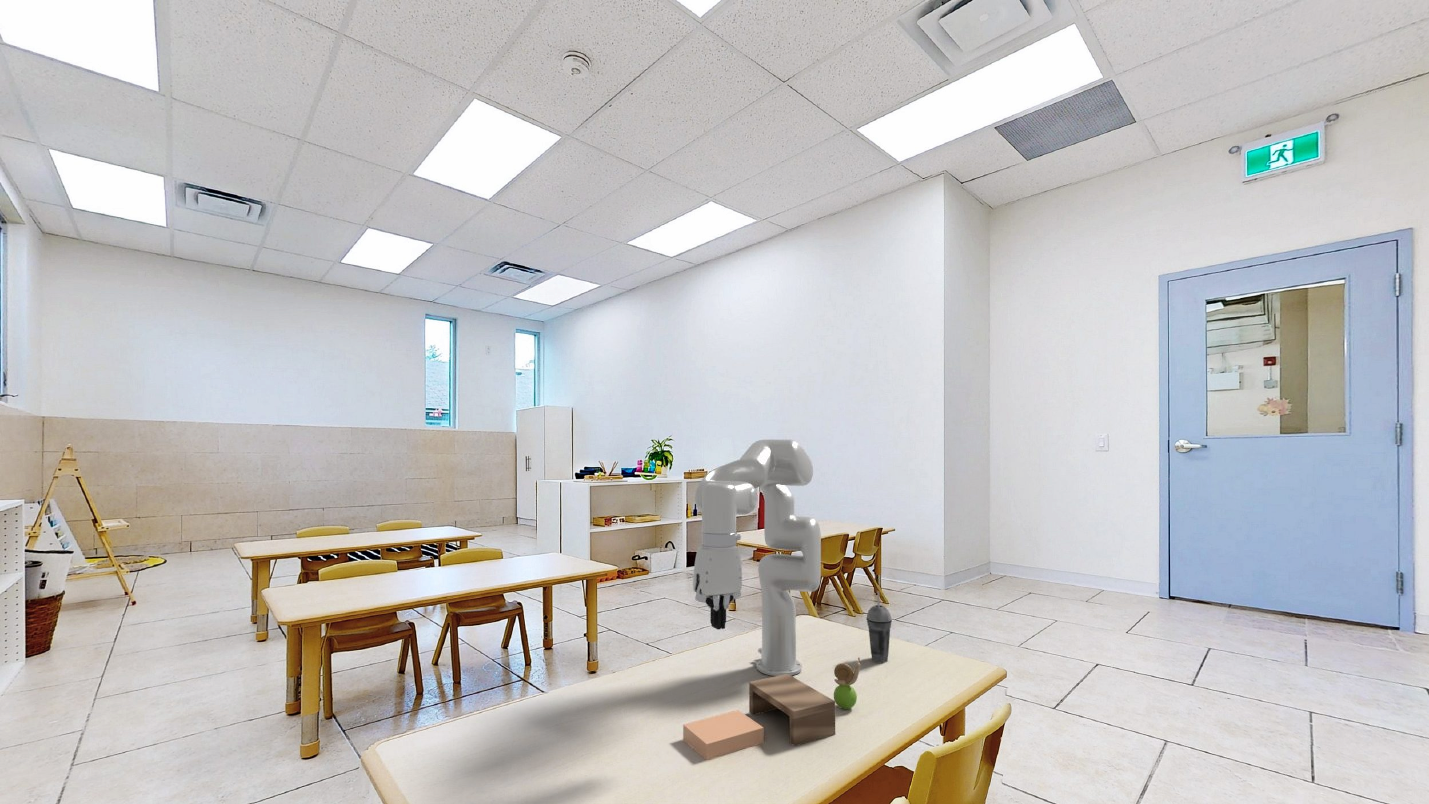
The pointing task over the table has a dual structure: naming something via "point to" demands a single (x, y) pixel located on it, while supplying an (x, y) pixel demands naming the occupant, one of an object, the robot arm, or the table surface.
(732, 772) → the table surface
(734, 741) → the peach tile
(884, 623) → the beverage cup
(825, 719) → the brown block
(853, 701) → the snail figurine
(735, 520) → the robot arm
